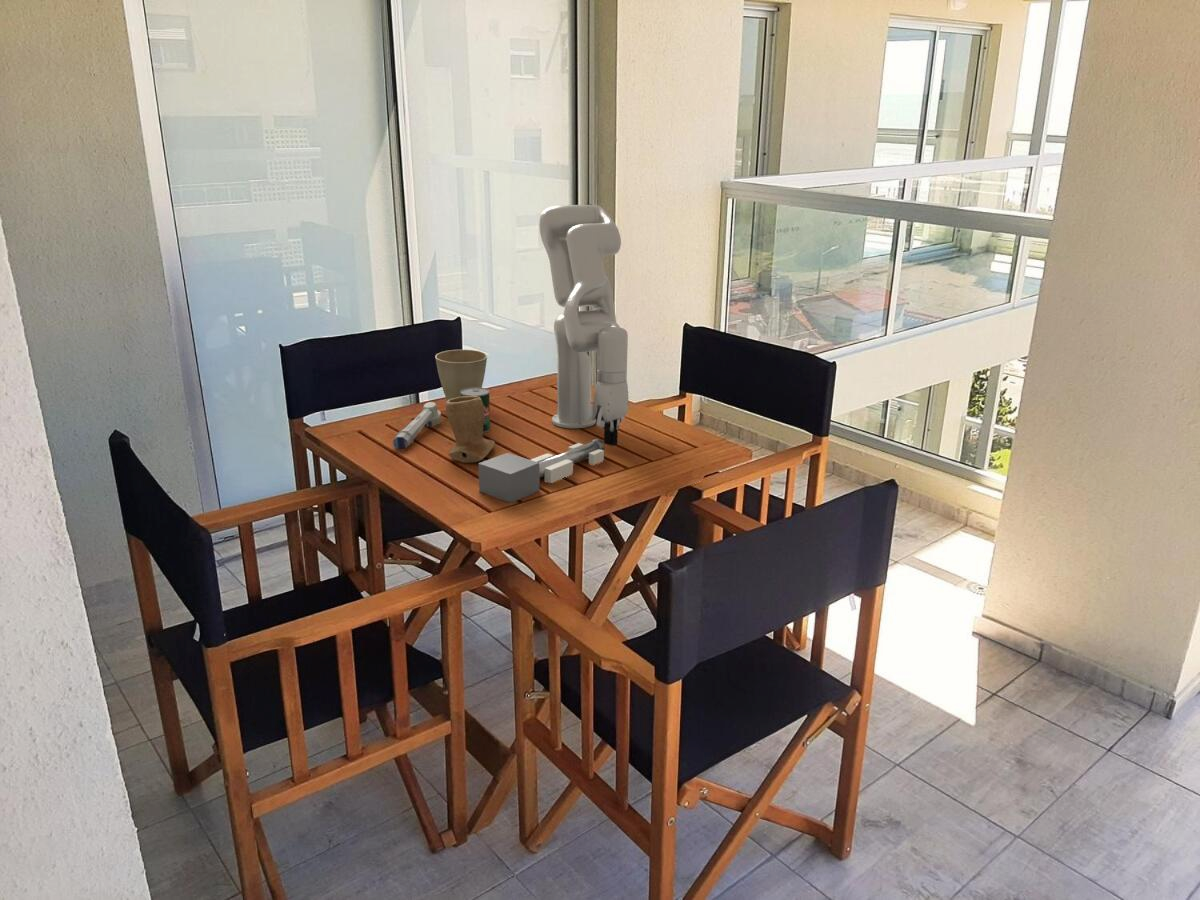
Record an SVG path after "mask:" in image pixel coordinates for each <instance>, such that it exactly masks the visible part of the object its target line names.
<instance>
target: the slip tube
mask: <svg viewBox="0 0 1200 900" xmlns="http://www.w3.org/2000/svg"><path fill="white" fill-rule="evenodd" d="M598 449H601V450H604V451H605V443H604V441H602V440H601V439H599V438H595V439H592V440H590V441H589V442H587V443H586V444H583V446H580V447H577V448H575V449H572V450H570V451H568V450H567V451H565V452H562V453H560V454H557V455H555V456H554V455H553V457H552V458H549V459H547V460H544V461H542V462H539V479H540V478H542V477H545V468H546V467H549V466H551V465H554V464H556V463H559V462H561V461H564V460H566V459H567V460H571V461H573V465H574V464H577V463H579V462H581V461H584V460H586V459H589V453H590V452H593V451H595V450H598Z"/></svg>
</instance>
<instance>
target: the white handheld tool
mask: <svg viewBox="0 0 1200 900" xmlns="http://www.w3.org/2000/svg"><path fill="white" fill-rule="evenodd" d="M441 417H442V413H441V411H440V410H438V406H437V404H436V403H435V402H434V401H429V402H426V403H424V405H423V406H422V411H421V412H420V413H419V414H418V415H417V416H416V417H415V418H414V419H412V421H411V422H410V423H409V424H408V425H406V427H405V428H404V429H400V431H398V432H397V433H396V437H395V438H394V439H393V440H392V444H393V448H395V449H396V450H402V449H405V450H406V449H407V448H408V446H410V445H412V444H413V443H414V439H416V437H417V436H418V434H419V433H420V432H421V431H422V429H423V428H424V427H430V426H431V427H435V426H436V425H437V424H439V425H440V424H441ZM425 425H426V426H425ZM437 426H438V425H437Z"/></svg>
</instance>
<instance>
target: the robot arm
mask: <svg viewBox="0 0 1200 900" xmlns="http://www.w3.org/2000/svg"><path fill="white" fill-rule="evenodd" d="M538 224H539V225H538V226H539V235H540V239H541V242H542V244H543V247H544V249H545V251H546V252H545V253H546V254H547V257H548V260H549V265H550V266H549V267H550V273H551V275H550V276H551V282H552V287H553V293H554V298H555V301H556V303H557V305H558V306H560V307H562V308H564V310H563V313H561V314H559V315H557V317H556V319H555V320H554V323H553V331H554V333H553V334H554V337H555V344H556V345H555V346H556V354H557V357H556V358H557V359H556V360H557V363H556V364H557V366H556V367H557V374H556V375H557V379H556V380H557V383H556V384H557V387H556V388H557V393H556V394H557V398H556V399H557V400H556V402H557V403H556V404H557V406H556V408H557V413H556V414H554V415H553V416H552V417H551V422H552V424H553V425H555V426H556V427H559V428H565V429H586V428H590V427H592V426H595V424H596V426H597V427H598V428H599V427H600V428H602V430H603V443H604V445H607V446H611V447H614V446H616V445H618V433H619V432H618V430H619V429H620V424H621V422H622V421H623V420H624V419H625V418H626V416H627V414H628V413H629V387H628V379H627V377H628V371H627V369H628V349H629V348H628V345H629V344H628V343H629V337H628V336H629V335H628V332H627V330H626V329H625V328H622V327H620V325H619V324H618V323H617V317H616V316H617V315H616V310H615V305H614V296H613V289H612V285H611V281H610V280H609V277H608V276H607V275H606V268H605V265H604V258H603V256H614V255H617V254H618V253H619V251H620V250H621V246H622V237H621V234H620V231H619V229H618V226H617V225H616V223H615V222H614V220H613V219H612V218H611V216H610V215H609V214H608V213H607V212H606V210H604V209H603V207H601V206H600V205H597V204H563V205H562V204H560V205H559V204H558V205H554V206H549V207H547V208H546V209H543V211H542V212H541V214H540V217H539V223H538ZM581 307H582V308H583V307H592V308H593V310H579V311H578V309H579V308H581ZM589 352H597V370H596V371H597V372H596V373H597V376H596V377H597V378H596V379H597V380H596V381H597V382H596V383H595V385H594V390H593V396H592V372H593V371H592V360H591V358H590V355H588V353H589Z"/></svg>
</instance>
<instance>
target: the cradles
mask: <svg viewBox="0 0 1200 900" xmlns="http://www.w3.org/2000/svg"><path fill="white" fill-rule="evenodd" d="M583 445H584V444H583V443H580V442H577V443H575V444H572V445H570V446H568V450H567V451H570V450H572V449H575V448H577V447H580V446H583ZM552 457H554V454H551V453H545V454H542V455H539V456H537V457H534V458H531V459H530V460H532V461H535V462H538V463H539V462H542V461H544V460H547V459H549V458H552ZM603 460H605V449H604V450H601V449H598V450H595V451H593V452H590V453H589V458H588V464H589V463H590V464H593V465H594V464H596V463H598V462H601V461H603ZM593 465H592V466H593ZM594 466H595V465H594ZM571 474H573V475H574V464H573V461H571V460H567V459H566V460H564V461H561V462H559V463H556V464H554V465H551V466H549V467H546V468H545V476H544V482H545V481H546V482H545V483H547V482H550V483H552V484H554V483H556V482H555V481H557V480H559V479H561V480H563V479H562V478H564V477H566V478H568V477H570V476H569V475H571ZM567 476H568V477H567ZM571 476H572V475H571ZM564 479H565V478H564ZM559 481H560V480H559ZM553 482H554V483H553ZM557 482H558V481H557ZM550 483H549V484H550Z"/></svg>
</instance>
